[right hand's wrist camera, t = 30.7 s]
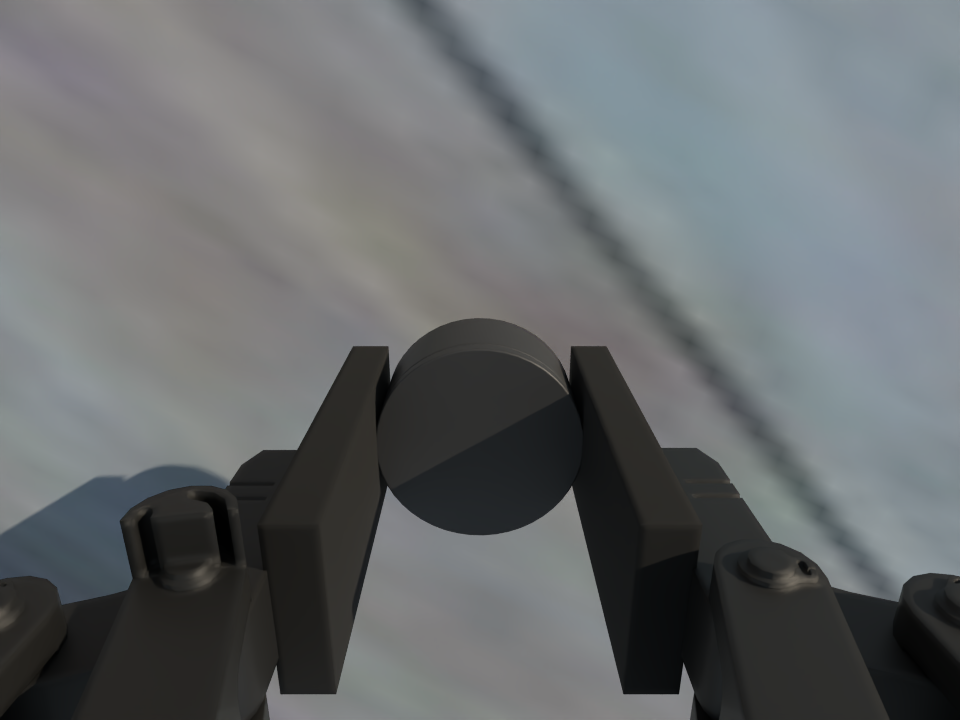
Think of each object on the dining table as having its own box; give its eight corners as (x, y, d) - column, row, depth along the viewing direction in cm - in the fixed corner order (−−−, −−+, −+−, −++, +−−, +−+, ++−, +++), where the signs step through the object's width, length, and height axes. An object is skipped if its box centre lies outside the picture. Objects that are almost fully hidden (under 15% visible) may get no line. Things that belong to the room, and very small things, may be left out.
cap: (350, 393, 14) (331, 434, 12) (493, 279, 13) (495, 305, 12) (467, 514, 15) (466, 569, 14) (607, 416, 14) (625, 460, 13)
